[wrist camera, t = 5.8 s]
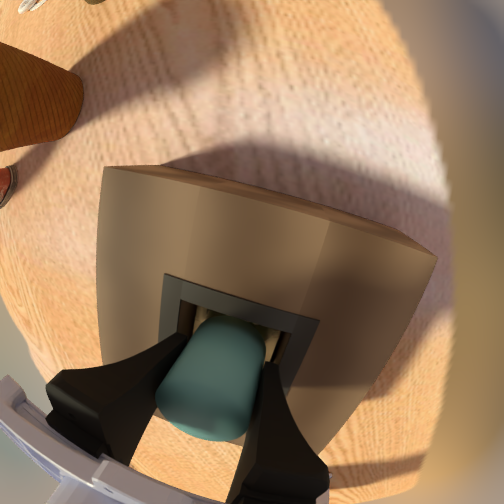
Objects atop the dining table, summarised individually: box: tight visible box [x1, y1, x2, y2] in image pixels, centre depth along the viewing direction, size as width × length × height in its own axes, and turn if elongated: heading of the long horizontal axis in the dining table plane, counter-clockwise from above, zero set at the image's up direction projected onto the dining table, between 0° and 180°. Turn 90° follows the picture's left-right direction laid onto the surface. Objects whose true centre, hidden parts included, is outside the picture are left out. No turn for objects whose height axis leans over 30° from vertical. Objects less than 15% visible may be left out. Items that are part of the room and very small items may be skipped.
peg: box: [155, 315, 266, 441], centre depth 12 cm, size 4×4×5 cm
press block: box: [96, 165, 438, 456], centre depth 16 cm, size 16×16×6 cm
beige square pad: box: [192, 305, 281, 366], centre depth 15 cm, size 5×5×1 cm
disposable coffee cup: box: [0, 42, 83, 152], centre depth 11 cm, size 10×10×12 cm
